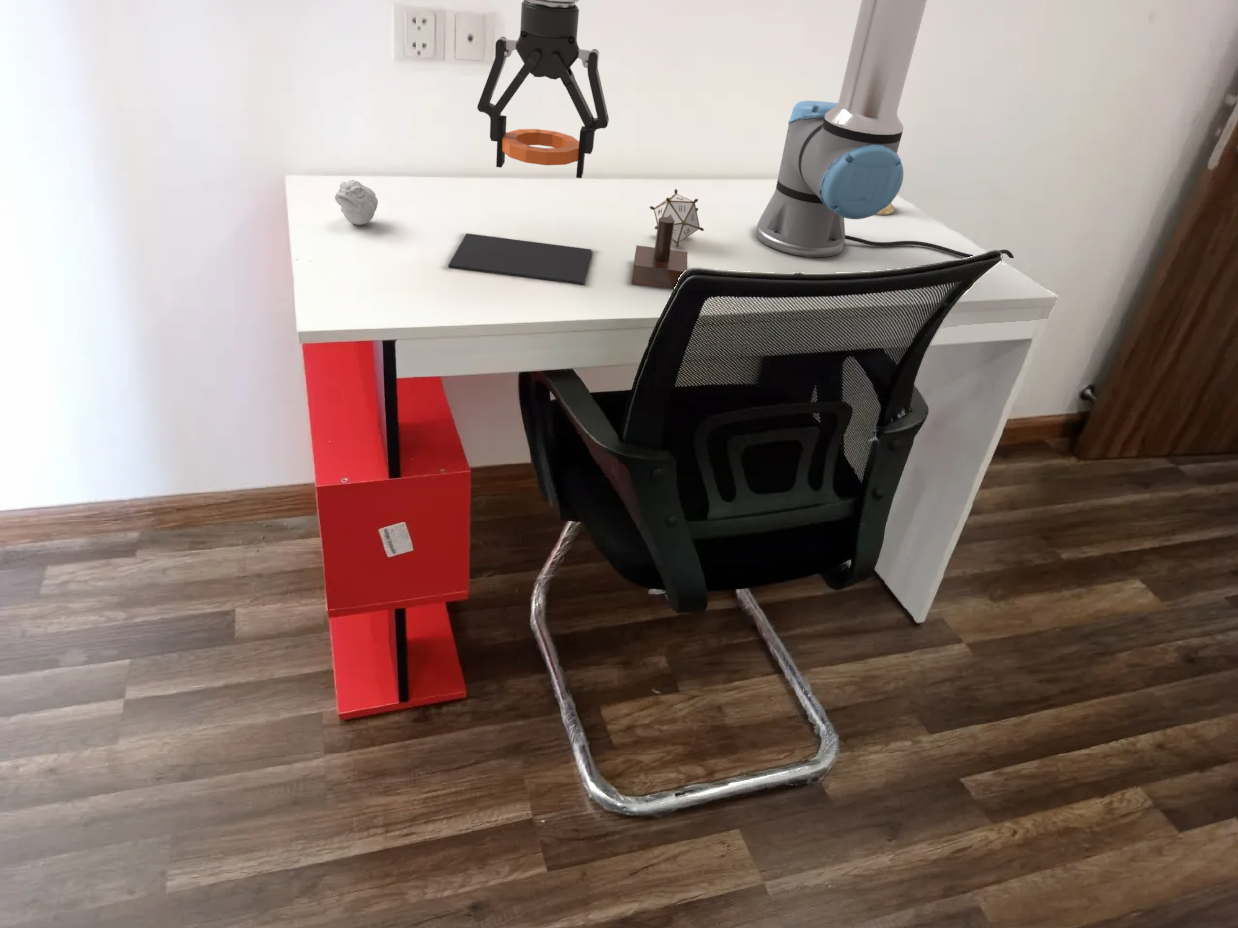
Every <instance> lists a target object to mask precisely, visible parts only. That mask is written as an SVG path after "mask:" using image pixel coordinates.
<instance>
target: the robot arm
mask: <svg viewBox="0 0 1238 928" xmlns="http://www.w3.org/2000/svg"><path fill="white" fill-rule="evenodd" d="M579 1H580V0H523V1H522V2H521V6H520V7H521V10H520V29H519V31H520V32H519V37H518V39H517V40H515V39H507V38H506V37H505V36H501V37H499V38H498V39H497V40H496V41H495V47H494V48H495V49H494V50H495V54H494V56H495V57H494V60H493V62H492V65H491V68H490V70H489V73H488V77H487V79H486V81H485V85H484V87H483V90H482V93H481V95H480V98H479V100H478V103H477V106H476V108H477V111H478V112H479V113H484V114H486V115H487V116H488V117H489V119H490V122H489V127H490V128H489V139H490V141H491V142H496V159H495V160H496V163H495V168H502V167H503V166H504V164H505V162H506V154H505V153H504V152H503V151H502V138H503V137H504V135H505V133H507V115H502V112H503V111H504V109H505V108H506V107H507V105H508V104H509V103H510V101H511V100H512V99H513V97H514V96H515V94H516V93H517V91H518V90H519V88H520V87H521V85H522V84H523V83H524V82H525V80H526V79H527V77H528V76H529V74H530V75H532V76H533V78H544V77H545V78H548V79H550V80H556V81H557V79H560V81H561V82H562V84H563V86H564V88H565V89H566V91H567V93H568V95H569V97H570V99H571V101H572V103H573V105H574V107H575V109H576V111H577V113H578V115H579V117H580V119H581V122H582V123H583V125H582V126H581V127H580V131H579V140H578V141H579V153H578V161H576V162H577V164H576V176H575V178H576V179H582V178H583V175H584V169H585V156H586V154H587V155H592V152H593V150H594V145H595V133H596V131H597V130H601V129H606V128H607V127H608V125H609V121H610V118H609V114H608V109H607V103H606V99H605V95H604V90H603V85H602V81H601V77H600V76H601V75H600V72H599V58H600V52H599V50H598V49H597V48H593V49H591V50H589V49H582V48H580V47H579V45H578V30H579V29H578V28H579V14H580V8H579V7H578V5H576V3H579ZM927 1H928V0H861V2H860V7H859V11H858V15H857V20H856V24H855V29H854V33H853V37H852V41H851V46H850V50H849V53H848V54H849V55H848V59H847V62H846V63H847V64H846V68H845V72H844V75H843V81H842V86H841V90H840V94H839V99H838V102H833V101H821V100H802V101H798V102H797V103H796V104H794V106H793V108H792V111H791V114H790V118H789V120H788V123H787V126H788V127H787V131H786V136H785V142H784V146H783V151H782V156H781V157H782V158H781V161H780V166H779V171H778V175H777V176H778V177H777V180H776V185H775V190H774V193H773V194H772V196H771V198H770V199H769V202H768V203H767V205H766V207H765V209H764V210H763V212H762V214H761V216H760V217H759V220H758V222H757V224H756V229H755V236H756V237H757V239H758V240H759V241H760V242H761V243H763V244H764V245H766V246H768V247H769V248H772V249H774V250H777V251H779V252H782V253H786V254H789V255H794V256H801V257H807V258H827V257H832V256H836V255H838V254H841V252H842V251H843V249H844V245H845V242H846V241H847V240H848V241H851V242H856V243H860V244H863V245H866V246H867V245H868V246H873V247H894V246H919V247H925V248H930V249H935V250H939V251H942V252H945V253H948V254H951V255H955V256H959V257H962V258H966V257H970V256H973V255H974V254H971V253H966V252H963V251H959V250H955V249H952V248H949V247H946V246H942V245H938V244H935V243H931V242H926V241H918V240H898V241H896V240H895V241H885V242H884V241H871V240H868V239H864V238H860V237H856V236H851V235H847V234H846V227H845V219H848V220H863V219H867V218H870V217H873V216H875V215H876V214H877V213H878V212H879V211H881V210H882V209H883V208H886V207H887V206H888V205H889V204H890V203H891V204H892V202H893V201H894V200H895V199H896V197H897V196H898V194H899V192H900V190H901V188H902V185H903V181H904V167H903V163H902V159H901V158H900V156H899V153H898V152H899V148H900V143H901V140H902V136H903V132H904V124H903V123H902V122H901V120H900V118H899V116H898V110H899V106H900V103H901V99H902V95H903V91H904V87H905V83H906V79H907V76H908V72H909V68H910V66H911V65H910V64H911V60H912V57H913V54H914V51H915V50H914V49H915V46H916V43H917V42H916V41H917V40H918V39H917V38H918V35H919V31H920V27H921V23H922V20H923V16H924V12H925V8H926V5H927ZM513 51H516V53H517V54H518V55H519V57H520V59H521V61H522V63H523V65H522V66H521V68H520V69H519V71H518V72H517V73H516V75H515V76H514V78H513V79H512V80H511V82H510V83H509V85H508V86H507V87H506V89H505V91H504V92H503V93H502V95H501V96H500V98H499V99H498V100H497V102H496V104H494V103H492V102H491V101H492V99H493V96H494V92H495V90H496V87H497V85H498V82H499V80H500V77H501V74H502V72H503V69H504V66H505V64H506V60H507V58H509V57H511V56H512V54H513ZM577 59H580V61H581V64H582V66H583V68H585V69H587V78H588V82H589V87H590V91H591V95H592V100H593V103H594V108H595V109H594V110H595V113H596V117H594V115H593V113H592V111H591V109H590V107H589V104H588V103H587V101H586V99H585V96H584V94H583V92H582V91H581V88H580V87H579V84H578V82H577V79H576V78H575V74H574V72H573V70H572V69H571V67H572V66H573V65H574V63H575V62H576V61H577ZM998 251H999V252H1001V253H1002V254H1001V255H1004V254H1005V255H1006V256H1007V257H1008V258H1010V259H1014V258H1015V256H1014V254H1013V253H1012V252H1011V251H1010V250H1008V249H999V250H998Z"/></svg>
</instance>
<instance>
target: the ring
mask: <svg viewBox="0 0 1238 928" xmlns="http://www.w3.org/2000/svg"><path fill="white" fill-rule="evenodd" d="M539 146H543V147H539ZM544 146H545V147H544ZM547 147H548V148H547ZM549 147H550V148H549ZM502 151H503V152H504V153H505V156H507V157H509V158H511V159H513V160H516V161H519V162H522V163H526V164H533V165H541V166H566V165H569V164H572V163H575V162H578V153H579V140H578V139H576V138H575V137H574V136H573V135H569V134H566V133H563V132H559V131H555V130H547V129H540V128H519V129H515V130H511V131H506V133H505V135H504V137H503V138H502Z"/></svg>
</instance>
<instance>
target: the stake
mask: <svg viewBox="0 0 1238 928" xmlns="http://www.w3.org/2000/svg"><path fill="white" fill-rule="evenodd" d="M674 223H675V220H674V219H672V218H668V217H661V218H659V220H658V227H657V229H656V236H655V241H654V242H655V244H654V247H652V246H646V245H645V246H644V245H637V244H636V246H635V253H634V259H633V268H632V276H631V285H637V286H646V287H652V288H662V289H668V290H675V289H674V287H675V286H676V284H677V282H678V278H679V277H680V275H681V274H682V273H683V272H684V271H685V270H687V271H688V255H689V254H688V251H684V250H676V249H672V243H673V241H672V237H673V230H674Z"/></svg>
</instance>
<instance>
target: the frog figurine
mask: <svg viewBox="0 0 1238 928" xmlns="http://www.w3.org/2000/svg"><path fill="white" fill-rule="evenodd" d="M334 200H335V201H336V203H337V204H338V205H339V206H340V211H341V213H342V215H343V216H344V218H345V219H346V220H347V221H348V222H350V223H351V224H353V225H357V226H362V225H366V224H369V222H371V221H372V219H373V218H374V216H375V213H376V211H377V208H378V205H379V201H378V198H377V196H376V192H375V191H374V190H373V189H371V188H370V187H368V186H365V185H364V184H363V183H361V182H360V181H358V180H354V179H352V180H351V179H350V180H348V181H341V182H340V184H339V189H338V191H337V192H336V193H335V195H334Z"/></svg>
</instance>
